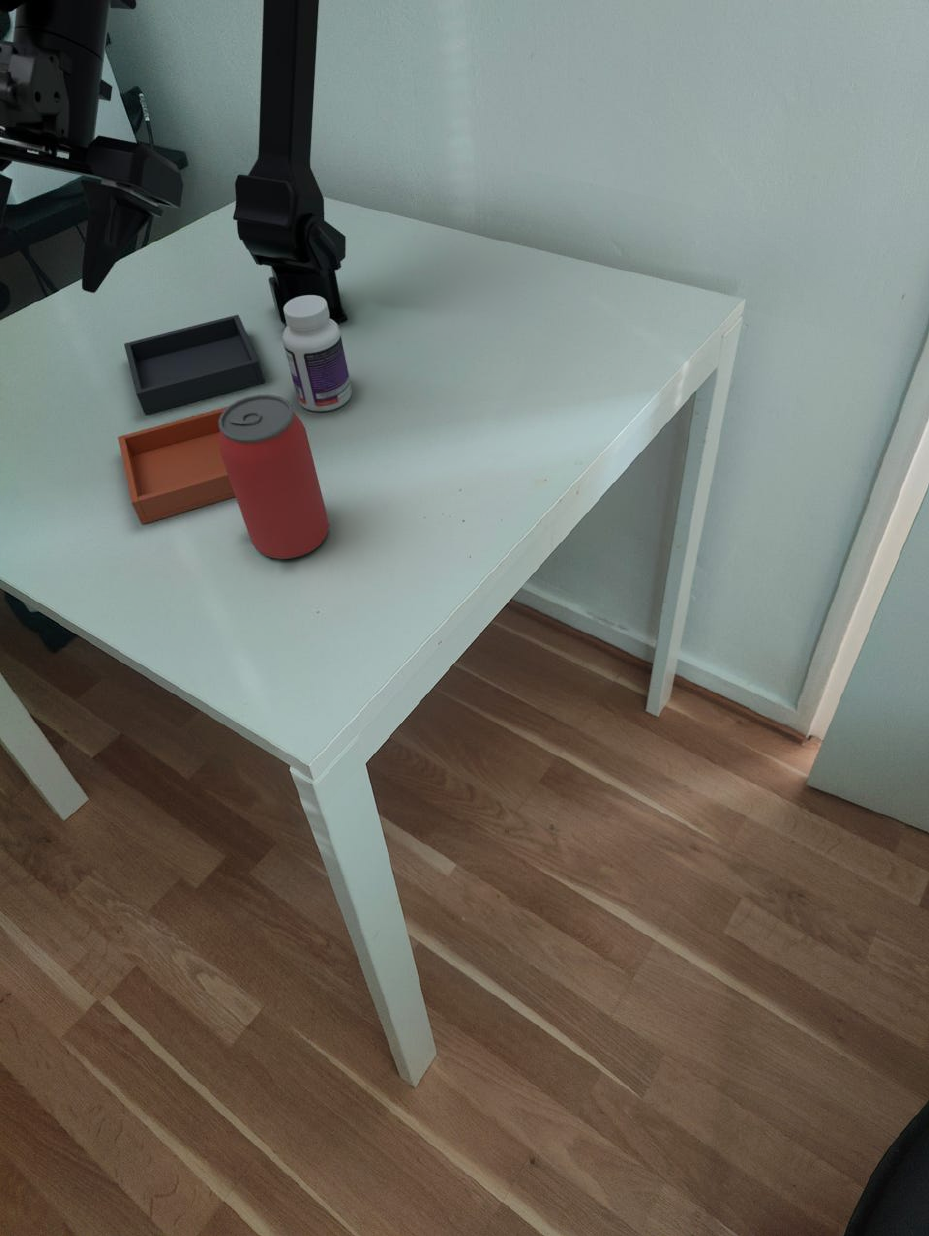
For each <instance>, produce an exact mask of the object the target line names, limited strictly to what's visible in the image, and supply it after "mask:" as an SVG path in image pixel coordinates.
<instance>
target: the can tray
mask: <svg viewBox="0 0 929 1236" xmlns="http://www.w3.org/2000/svg"><path fill="white" fill-rule="evenodd" d="M123 346H124V350H125V355H126V357H127V362H128V366H129V370H130V375H131V378H132V382H133V385H134V390H135V394H136V397H137V400H138V402H139V404H140V406H141V409H142V411H143V414H144V416H147V415H150V414H154V413H158V412H161V411H165V410H169V409H173V408H177V407H180V406H184V405H187V404H188V405H189V404H191V403H194V402H199V401H203V400H206V399H209V398H213V397H216V396H221V395H224V394H228V393H232V392H235V391H238V390H242V389H246V388H249V387H253V386H257V385H261V384H265V383H266V382H265V378H264V374H263V369H262V367H261V363H260V360H259V358H258V356H257V353H256V351H255V349H254V347H253V344H252V342H251V340H250V338H249V335H248V333H247V331H246V328H245V326H244V324H243V322H242V320H241V317H240V315H239V314H235V315H229V316H227V317H223V318H219V319H218V318H217V319H215V320H211V321H207V322H203V323H199V324H196V325H195V324H194V325H192V326H188V327H183V328H179V329H176V330H172V331H167V332H164V333H163V332H162V333H160V334H156V335H151V336H148V337H143V338H140V339H136V340H132V341H128V342H125V343H123Z"/></svg>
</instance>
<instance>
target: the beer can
mask: <svg viewBox="0 0 929 1236" xmlns="http://www.w3.org/2000/svg"><path fill="white" fill-rule="evenodd" d="M226 407H227V408H226V409H225V411H224V412H223V413H222V414H221V416H220V418H219V421H218V422H219V429H220V434H219V442H220V453H221V456H222V459H223V462H224V465H225V468H226V471H227V474H228V477H229V479H230V482H231V485H232V488H233V491H234V494H235V497H234V498H235V500H236V503H237V506H238V508H239V512H240V514H241V517H242V519H243V523H244V525H245V528H246V531H247V534H248V536H249V540H250V543H251V544H252V545H253V547H254V549H256V551H258V552H259V553H260V554H263V555H264V556H266V557H270V558H272V559H273V558H274V559H277V560H290V559H294V558H298V557H299V558H300V557H302V556H304V555H307V554H309V553H311V552H312V551H314V550H316V548H318V547H319V546H321V544H322V543H323V542H324V540H325V539H326V537H327V536H328V533H329V529H330V522H329V517H328V512H327V509H326V505H325V501H324V497H323V493H322V489H321V485H320V482H319V476H318V473H317V469H316V465H315V460H314V456H313V452H312V449H311V445H310V441H309V437H308V433H307V429H306V427H305V425H304V423H303V421H302V420H301V418H300V417H299V416H298V415H297V414H296V412H295V410H294V406H293V405H292V403H291V402H290V401H289V400H288V399H286V398H284V397H281V396H279V395H275V394H255V395H250V396H246V397H243V398H240V399H238V400H236V401H234V402H233V403H231V404H230V405H227V406H226Z"/></svg>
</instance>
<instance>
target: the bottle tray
mask: <svg viewBox="0 0 929 1236" xmlns="http://www.w3.org/2000/svg"><path fill="white" fill-rule="evenodd" d="M227 407H228V406H224V407H220V408H217V409H214V410H210V411H207V412H203V413H199V414H196V415H195V414H194V415H192V416H188V417H184V418H180V419H178V420H177V419H176V420H174V421H170V422H166V423H163V424H159V425H155V426H152V427H148V428H145V429H141V430H138V431H134V432H130V433H127V434H123V435H119V436H117V440H118V445H119V449H120V454H121V459H122V463H123V468H124V474H125V479H126V482H127V488H128V493H129V497H130V502H131V505H132V507H133V509H134V511H135V513H136V516H137V517H138V519H139V522H140V524H141V525H146V524H148V523H152V522H155V521H158V520H162V519H165V518H168V517H173V516H176V515H178V514H183V513H185V512H188V511H189V512H190V511H192V510H196V509H199V508H203V507H205V506H210V505H212V504H217V503H219V502H223V501H226V500H229V499H232V498H236V497H235V494H234V491H233V488H232V485H231V482H230V479H229V477H228V474H227V471H226V468H225V465H224V462H223V459H222V456H221V453H220V442H219V434H220V429H219V422H218V421H219V418H220V416H221V414H222V413H223V412H224V411H225V409H226V408H227Z"/></svg>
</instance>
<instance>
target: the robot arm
mask: <svg viewBox="0 0 929 1236" xmlns="http://www.w3.org/2000/svg"><path fill="white" fill-rule="evenodd" d="M319 6H320V0H263V1H262V30H261V31H262V33H261V35H262V36H261V37H262V38H261V62H260V64H261V65H260V67H261V68H260V70H261V71H260V95H259V123H258V124H259V125H258V152H257V159H256V161H255V162H254V164H253V166H252V167H251V169H250V170H249V173H248V174H242V173H240V174H237V176H236V179H235V181H234V191H235V209H234V212H233V215H232V219H233V220H234V221H236V229H237V235H238V239H239V240H240V241H242V243H243V245H244V247H245V249H246V250H247V251H248V252H249V254H250V256H251V258H252V259H253V261H254V263H255V264H256V265H257V266H267V267H270V271H271V274H272V276H270V277H268V285H269V289H270V293H271V297H272V300H273V304H274V305H273V306H274V309H275V312H276V315H277V317H278V318H279V320H280V323H282V324H285V326H286V327H287V324H286V319H285V315H284V306H285V304H286V303H287V302H289V301H290V300H292V299H294V298H296V297H300V296H305V295H316V296H320V297H322V298H324V299H325V300H326V302H327V305H328V310H329V318H330V319H332V320H333V321H335V322H336V323H337V324H339V323H343V322H346V321H347V320H348V314H347V313H346V311H345V309H344V307H343V305H342V300H341V295H340V294H341V293H340V289H339V284H338V279H337V273H336V271H338V270H340V269H341V268H342V261H344V260H345V258H346V254H347V253H346V247H347V246H346V245H347V244H346V243H347V237H346V235H344V234H343V233H341V231H339V230H338V229H337V228H335V227H334V226H333V225H331V224H330V223H329V222H328V221H326V220H325V198H324V195H323V193H322V190H321V188H320V186H319V184H318V181H317V179H316V176H315V174H314V173H313V170H312V168H311V155H312V154H311V153H312V137H313V136H312V135H313V120H314V119H313V117H314V115H313V114H314V102H315V101H314V99H315V98H314V97H315V95H314V94H315V80H316V65H317V63H316V62H317V44H318V29H319V8H320V7H319ZM136 8H137V0H0V14H7V13H11V12H14V11H15V20H14V26H13V27H14V28H13V29H14V30H13V36H12V41H8V40H3V39H0V172H1V173H2V172H4V171H5V170H6V169H7V168H8V167H9V166H11V164H12V163H13V162H14V163H20V164H25V165H29V166H35V167H39V168H44V169H47V170H48V169H49V170H53V171H59V172H63V173H69V174H73V175H77V176H83V177H88V178H92V179H97V180H100V182H94V181H90V180H85V179H81V180H80V183H81V186H82V190H83V194H84V197H85V201H86V204H87V208H88V218H87V224H86V233H85V242H84V248H83V249H84V250H83V258H82V267H81V288H82V290H83V291H85V292H88V293H90V294H96V292H97V291H98V289H99V288H100V287H101V285H102V283H103V282H105V281H104V280H105V279H106V278H107V276H108V275H109V273H110V272H111V270H112V269H113V268H114V266H115V265H116V263H117V262H118V261H119V259H120V257H121V256H122V254H123V253H124V252H125V250H126V249H127V248H128V246H129V245H130V244H131V243H132V241H133V240H134V239H135V238H136V237H137V235H138V234H139V233H140V232H141V231H142V230H143V228H144V227H145V226H146V225H147V224H148V223H149V221H150V220H151V219H152V218H154V217H155V218H162V217H163V215H164V210H163V209H162V208H160V207H159V206H163V207H169V208H172V209H180V208H181V205H182V204H181V203H182V197H183V191H184V181H183V178H182V174H181V172H180V170H179V167H178V165H177V164H176V163H173V162H172V161H171V160H170V159H167V158H165V157H164V156H162V155H161V154H159V153H158V152H156V151H154V150H153V149H152V148H150V147H148V146H147V145H145V144H143V143H140V142H136V141H135V142H134V141H130V140H125V139H119V138H115V137H110V136H106V135H105V136H104V135H99V134H98V135H97V136H96V127H97V121H98V120H97V119H98V112H99V102H100V100H101V101H102V100H103V101H107V102H111V101H112V95H113V86H112V85H111V84H110V83H108V82H107V81H105V79H103V71H104V62H105V53H106V44H107V38H108V37H107V36H108V29H109V21H110V20H109V19H110V12H111V9H120V10H121V9H122V10H135V9H136ZM95 136H96V137H95ZM58 153H62V154H67V155H68V157H67V158H66V157H64V156H63V157H61V156H59V155H58ZM1 173H0V228H2V223H3V220H4V216H5V212H6V208H7V204H8V201H9V197H10V192H11V189H12V186H13V178H10V177H8V176H6V175H4V174H1Z"/></svg>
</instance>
